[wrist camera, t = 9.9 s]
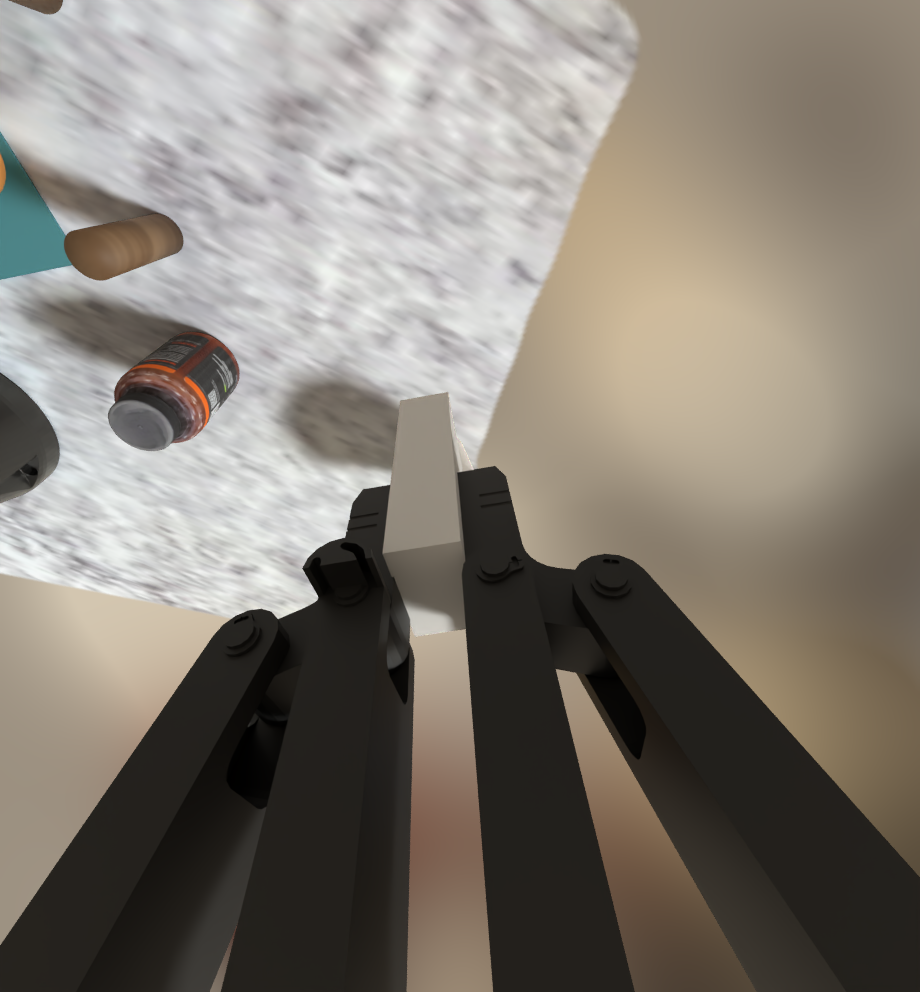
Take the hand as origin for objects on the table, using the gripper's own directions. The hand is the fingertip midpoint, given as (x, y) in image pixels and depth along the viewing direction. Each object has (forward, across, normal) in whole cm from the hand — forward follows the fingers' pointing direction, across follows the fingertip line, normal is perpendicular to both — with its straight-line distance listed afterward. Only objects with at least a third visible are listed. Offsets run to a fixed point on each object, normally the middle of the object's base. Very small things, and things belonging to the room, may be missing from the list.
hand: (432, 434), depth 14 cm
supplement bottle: (+27, +21, +4) cm, 34 cm away
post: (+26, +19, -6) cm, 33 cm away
